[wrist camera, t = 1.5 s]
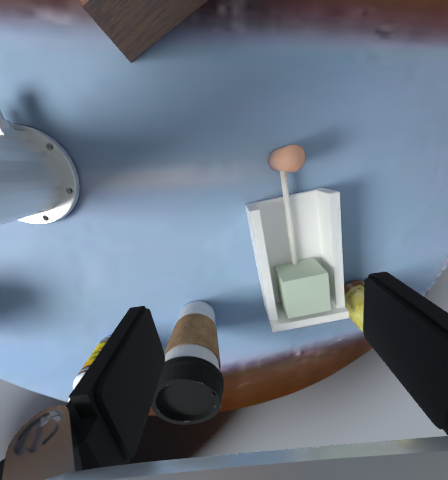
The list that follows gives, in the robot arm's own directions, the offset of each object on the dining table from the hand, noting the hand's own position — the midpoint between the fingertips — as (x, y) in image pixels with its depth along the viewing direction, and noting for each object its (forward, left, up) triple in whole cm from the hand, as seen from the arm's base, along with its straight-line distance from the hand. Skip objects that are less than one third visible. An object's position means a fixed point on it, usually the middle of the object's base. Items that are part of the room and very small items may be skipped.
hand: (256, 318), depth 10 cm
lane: (+9, +8, -24) cm, 26 cm away
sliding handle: (+4, +8, -23) cm, 25 cm away
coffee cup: (+17, -9, -24) cm, 30 cm away
